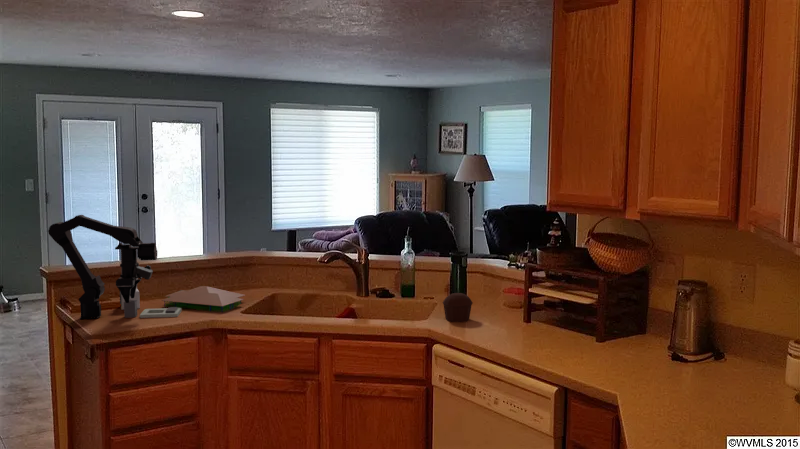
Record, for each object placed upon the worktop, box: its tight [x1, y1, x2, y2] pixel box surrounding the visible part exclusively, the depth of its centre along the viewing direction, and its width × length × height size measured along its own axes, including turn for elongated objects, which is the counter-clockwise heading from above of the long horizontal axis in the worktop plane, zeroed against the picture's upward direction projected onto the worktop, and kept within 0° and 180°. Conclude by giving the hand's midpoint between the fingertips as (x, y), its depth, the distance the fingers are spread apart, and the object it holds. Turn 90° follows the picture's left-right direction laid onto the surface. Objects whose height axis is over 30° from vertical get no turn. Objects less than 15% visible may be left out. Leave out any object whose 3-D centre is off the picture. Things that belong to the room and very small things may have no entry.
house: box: [160, 285, 246, 313], centre depth 306 cm, size 23×33×8 cm
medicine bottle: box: [119, 286, 141, 311], centre depth 299 cm, size 7×7×12 cm
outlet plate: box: [139, 306, 183, 319], centre depth 287 cm, size 14×11×2 cm
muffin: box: [442, 292, 474, 323], centre depth 278 cm, size 12×11×10 cm
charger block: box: [123, 300, 138, 319], centre depth 283 cm, size 4×4×6 cm
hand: (130, 300), depth 283 cm, fingers open, 9 cm apart
